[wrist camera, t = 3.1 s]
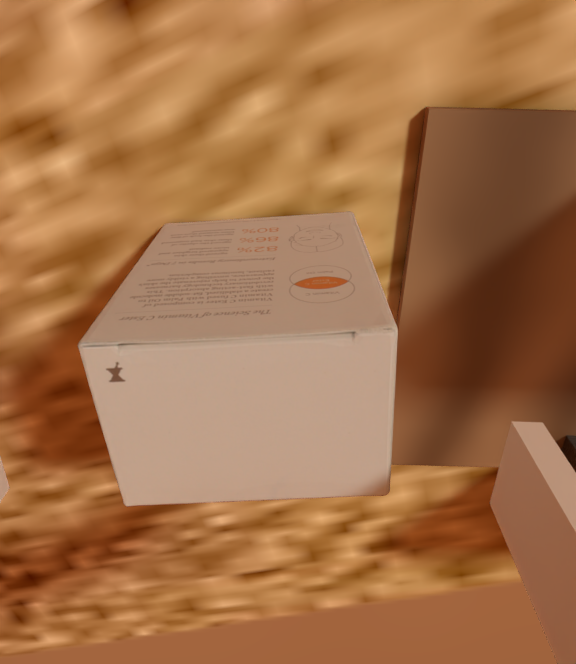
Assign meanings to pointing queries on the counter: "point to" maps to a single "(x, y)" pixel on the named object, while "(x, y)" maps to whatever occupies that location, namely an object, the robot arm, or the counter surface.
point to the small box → (247, 364)
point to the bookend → (570, 450)
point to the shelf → (487, 286)
